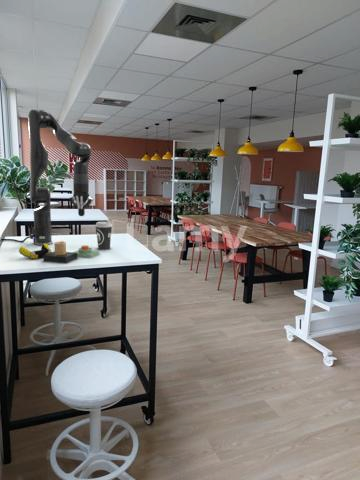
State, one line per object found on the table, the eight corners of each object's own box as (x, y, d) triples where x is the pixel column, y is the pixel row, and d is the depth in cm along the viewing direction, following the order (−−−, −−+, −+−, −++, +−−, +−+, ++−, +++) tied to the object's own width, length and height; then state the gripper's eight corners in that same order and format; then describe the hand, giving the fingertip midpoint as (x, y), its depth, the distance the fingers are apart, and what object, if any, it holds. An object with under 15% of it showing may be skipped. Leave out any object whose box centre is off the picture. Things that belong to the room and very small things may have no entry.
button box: (71, 256, 173) (70, 249, 172) (80, 252, 182) (79, 246, 181) (90, 258, 171) (90, 251, 170) (98, 254, 179) (98, 247, 179)
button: (80, 249, 174) (80, 246, 174) (83, 248, 178) (83, 245, 177) (86, 250, 174) (86, 246, 173) (89, 248, 177) (89, 245, 177)
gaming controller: (17, 257, 167) (27, 261, 161) (17, 246, 166) (27, 249, 160) (46, 252, 179) (56, 256, 173) (45, 242, 178) (56, 245, 172)
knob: (62, 255, 162) (62, 243, 160) (52, 254, 162) (52, 242, 161) (68, 253, 167) (67, 241, 166) (58, 252, 167) (57, 240, 166)
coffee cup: (108, 250, 188) (108, 224, 185) (92, 249, 189) (92, 223, 187) (115, 247, 197) (115, 221, 194) (99, 246, 199) (99, 221, 196)
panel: (43, 261, 162) (43, 254, 161) (55, 256, 171) (55, 250, 171) (66, 263, 159) (65, 256, 158) (77, 258, 169) (77, 252, 168)
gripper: (65, 182, 172) (66, 216, 176) (89, 183, 169) (89, 217, 173) (73, 181, 179) (73, 214, 183) (96, 183, 177) (96, 216, 180)
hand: (81, 216), depth 178 cm, fingers closed
